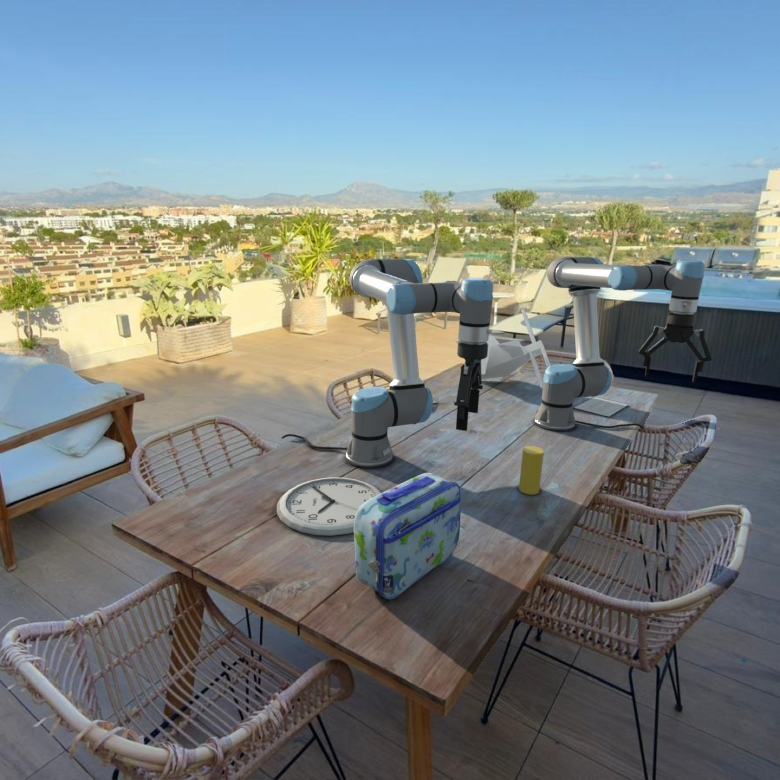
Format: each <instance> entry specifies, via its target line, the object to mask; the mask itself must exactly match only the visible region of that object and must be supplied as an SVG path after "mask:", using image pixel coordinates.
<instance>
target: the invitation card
mask: <svg viewBox="0 0 780 780" xmlns="http://www.w3.org/2000/svg"><path fill="white" fill-rule="evenodd" d="M628 406H629V404H627V403H623V402H618V401H614V400H609V399H605V398H601V397H598V396H595V397H592V398H590V399H588V400H586V401H584V402H582V403H580V404H578V405H575V406H574V407H573V409H575V410H581V411H584V412H587V413H593V414H596V415H600V416H604V417H608V418H609V417H611V416H613V415H614V414H616V413H617V412H619V411H621V410H623V409H624V408H626V407H628Z"/></svg>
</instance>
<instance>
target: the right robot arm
mask: <svg viewBox="0 0 780 780" xmlns="http://www.w3.org/2000/svg"><path fill="white" fill-rule="evenodd" d="M704 275H705V262H704V261H701V260H688V259H687V260H683V259H682V260H681V259H680V260H678V261H677V262H676V264H675V266H674V265H666V264H660V263H658V264H657V263H654V264H648V265H646V264H645V265H642V264H641V265H634V264H633V265H632V264H631V265H629V264H604V262H603V261H602V260H601V259H600V258H598V257H593V256H561V257H558V258H556V259H554V260H552V262H551V263H550V264H549V266H548V267H547V269H546V278H547V280H548V282H549V283H550V285H552V286H553V287H555V288H560V289H567V290H568V295H569V296H570V297H571V298H572V305H573V321H574V323H573V325H574V326H573V327H574V341H575V342H574V344H575V359H574V361H573V362H572V364H571V363H556V364H552V365H551V366H549V367H548V368H547V367H546V369H545V371H544V375H543V377H542V380H543V390H542V394H541V402H540V405H539V407H538V409H537V410H536V413H535V416H534V424H535V425H536V426H537V427H539V428H542V429H544V430H549V431H556V432H567V431H572V430H574V429H575V428H576V424H580V425H585V426H591V427H596V428H601V429H614V428H620V427H632V426H633V427H634V426H635V427H639V428H640V429H641V430H642V429H643V430H645V427H644V426H643V425H641V424H639V423H624V424H623V423H621V424H620V423H619V424H615V425H614V424H613V425H601V424H596V423H590V422H585V421H580V420H577V419H576V418H575V417H576V416H575V413H574V407H573V405H574V399H578V398H579V399H580V398H588V397H590V398H591V397H592V398H594V397H598V396H602V395H604V394H606V393H607V392H608V390H609V389H610V388H611V386H612V382H613V381H612V380H613V376H612V372H611V371H610V369H609V368H610V367H608V366H606V365H605V360H603V359H602V358H601V356H600V355H601V353H600V338H599V319H598V318H599V317H598V301H597V300H598V299H597V297H598V296H597V295H598V294H599V293H600V292H601V288H606V289H612V290H614V291H623V292H624V291H637V290H638V291H642V290H643V291H644V290H645V291H646V290H649V291H650V290H661V291H662V290H663V291H669V292H671V294H670V298H669V299H670V300H669V304H668V305H669V306H668V311H669V312H668V313H667V317H666V322H665V326H664V327H663V326H658V325H654V327H653V331H652V332H651V334H650V335H649V337H648V338H647V339H646V340H645V342H644V343H643V344H642V346H641V347H640V348H639V350H638V354H639V355H641V356H643V361H642V366H643V367H645V372H644V373H645V374H644V378H648V377H649V373H650V367H651V361H652V355H653V353H655V352H656V351H657V350H658V349H659V348H661V347H662V346H663V345H664V344H667V342H671V343H679V344H683V343H686V344H687V345H688V346H689V349H691V351H692V352H693V353H694V355H695V356H696V358H697V359H698V360H695V363H694V369H693V374H692V380H691V381H692V383H693V384H695V383H697V378H698V374H699V373H702V372H703V369H704V365H705V362H711V361H712V356H711V353H710V349H709V348H708V347H709V346H708V344H707V342H706V339H705V330H704V329H703V328H700V329H694V325H695V320H696V314H695V313H697V309H698V303H699V299H700V293H701V288H702V285H703V280H704ZM661 332H663V333H664V336H662V338H661V339H659V340H658V341H657V342H656V343H654V344H653V345H652V346H651V347H650V348H649V349H648V347H649V346H650V345H651V344H652V342H653V341H654V340H655V338H656V337H657V335H660V334H661ZM693 335H695V336H696V337H698V339H699V343H700V345H701V348H702V351H703V353H704V356H703V355H702V354H701V353H700V351H699V350H698V348H697V347H696V345H695V344H694V343H693V342H692V340H691V337H692V336H693Z"/></svg>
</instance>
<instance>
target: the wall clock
mask: <svg viewBox="0 0 780 780" xmlns="http://www.w3.org/2000/svg"><path fill="white" fill-rule="evenodd" d="M381 493H383V492H382V491H381V490H380V489H379V488H377V487H376V486H374V485H372V484H371V483H369V482H365V481H362V480H359V479H355V478H349V477H338V476H337V477H335V476H333V477H332V476H331V477H322V478H317V479H312V480H307V481H305V482H302V483H299V484H297V485H295V486H293V487H292V488H290V489H288V490H287V491H286V492H285V493H284V494H283V495H281V496H280V498H279V499H278V502H277V503H276V515H277V517H278V518H279V520H280V521H281V522H282V523H283V524H285V525H286V526H287V527H288V528H290V529H293V530H295V531H297V532H299V533H303V534H308V535H312V536H327V537H328V536H329V537H331V536H332V537H333V536H342V535H350V534H352V533H353V534H354V519H355V515H356V513H357V511H358V509H359V508H360V506H361V505H362V504H363V503H364V502H365V501H367V500H369V499H371V498H373V497H375V496H377V495H379V494H381Z"/></svg>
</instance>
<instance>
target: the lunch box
mask: <svg viewBox="0 0 780 780" xmlns="http://www.w3.org/2000/svg"><path fill="white" fill-rule="evenodd" d="M461 503H462V502H461V487H460V485H459V483H457V482H455V481H448V480H446V479H445V478H442V477H440V476H439V475H437V474H434V473H432V472H424V473H422V474H419V475H416V476H415V477H412V478H409V479H407V480H406V481H404V482H402V483H399V484H398V485H395V486H394V487H391V488H389V489H387V490H385V491H383V492H382V493H381V494H379V495H377V496H375V497H373V498H371V499H369V500H367V501H365V502H364V503H363V504H362V505H361V506H360V508H359V509H358V511H357V513H356V515H355V519H354V532H353V546H354V547H353V548H354V571H355V572H354V573H355V576H356V579H357V580H358V581H359V582H360V583H363V584H364V585H367V586H368V587H370V588H372V589H373V590H374V591H376V592H378V594H379V595H380V596H381V597H382V598H384V599H386V600H394V599H396V598H398V597H399V596H400V595H402V594H403V593H404V592H405V591H406V590H407V589H409V588H410V587H412V586H413V585H414V584H416V583H417V582H418V581H420V580H421V579H422V578H424V577H425V576H426V575H427V574H428V573H429V572H430V571H432V570H433V569H435V568H437V567H438V566H439V565H441V564H443V563H444V562H445V561H447V560H448V559H449V558H451V556H452V555H453V554H454V552H455V550H456V549H457V546H458V543H459V539H460V531H461V510H462V509H461V508H462V507H461Z"/></svg>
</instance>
